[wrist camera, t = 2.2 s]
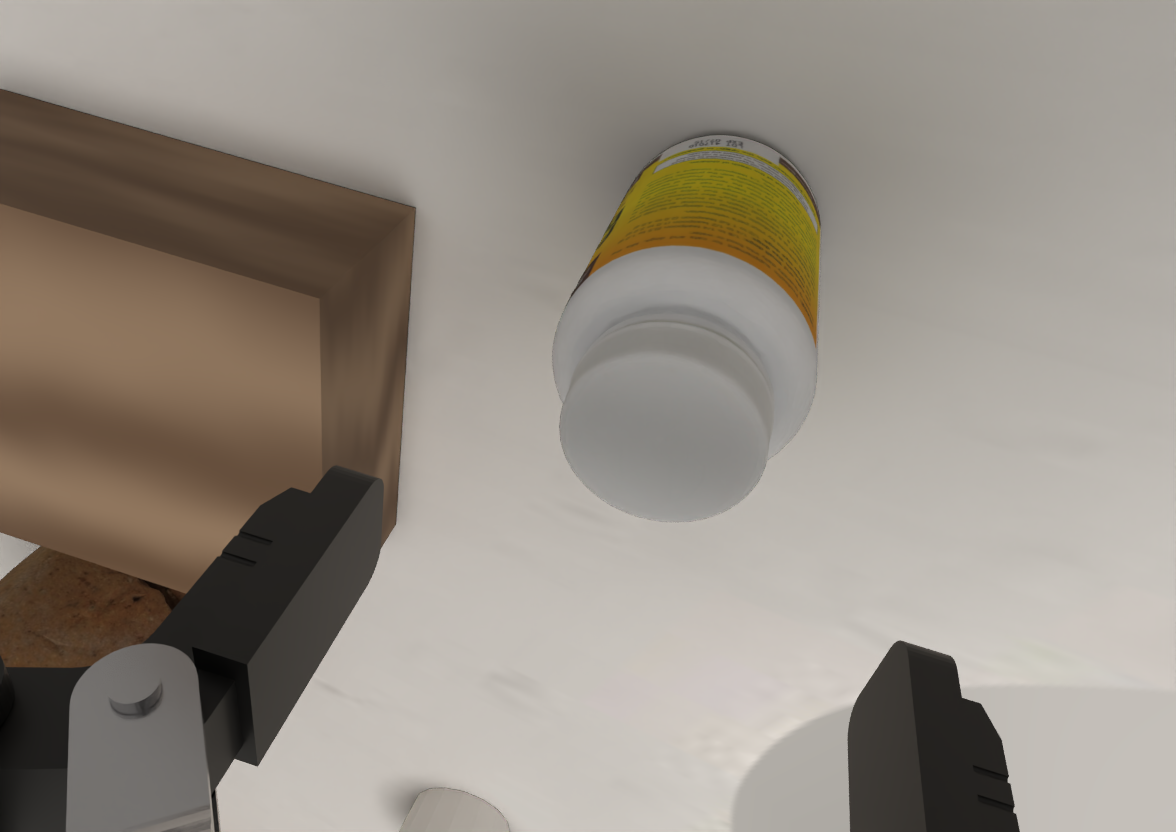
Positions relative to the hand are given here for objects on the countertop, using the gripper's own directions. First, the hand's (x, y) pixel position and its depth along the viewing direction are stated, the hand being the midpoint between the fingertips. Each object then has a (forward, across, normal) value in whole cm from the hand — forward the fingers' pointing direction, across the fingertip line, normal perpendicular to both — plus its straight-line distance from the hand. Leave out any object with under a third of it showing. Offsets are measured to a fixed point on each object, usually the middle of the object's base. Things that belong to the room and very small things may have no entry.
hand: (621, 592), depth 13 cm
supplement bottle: (+14, 0, 0) cm, 14 cm away
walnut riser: (+14, +16, +9) cm, 23 cm away
